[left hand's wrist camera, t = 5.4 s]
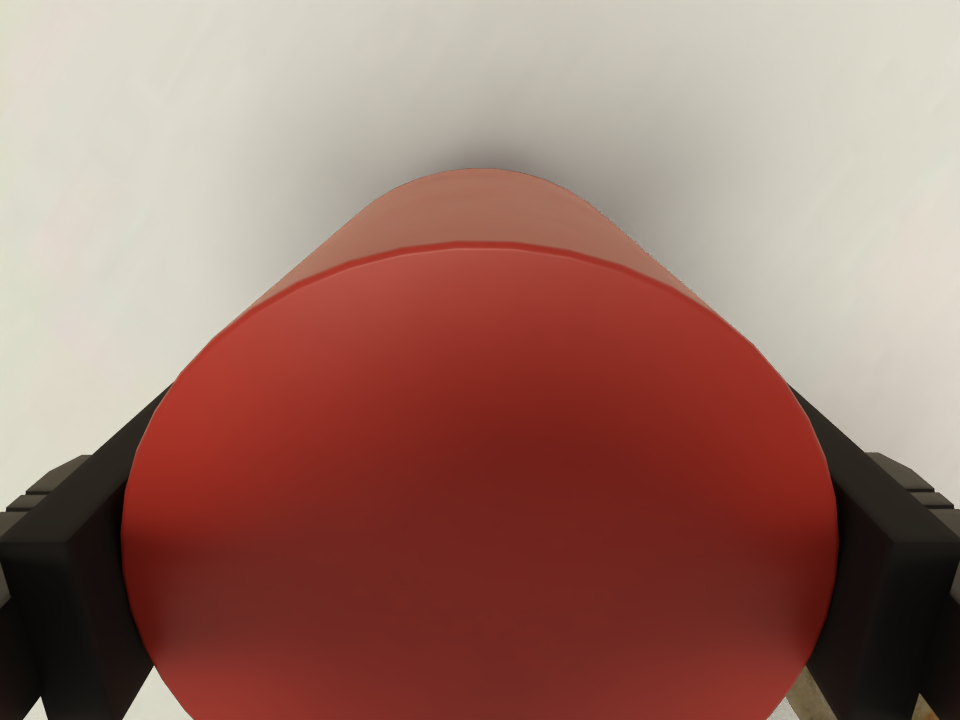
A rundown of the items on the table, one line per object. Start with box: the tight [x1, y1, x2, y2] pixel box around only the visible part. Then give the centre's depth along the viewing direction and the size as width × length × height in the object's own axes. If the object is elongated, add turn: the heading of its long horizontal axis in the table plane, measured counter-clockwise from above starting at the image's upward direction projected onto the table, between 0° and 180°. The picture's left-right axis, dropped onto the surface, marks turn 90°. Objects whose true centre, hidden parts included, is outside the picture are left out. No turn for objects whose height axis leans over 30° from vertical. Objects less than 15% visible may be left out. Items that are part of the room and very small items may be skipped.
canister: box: [120, 168, 839, 720], centre depth 12 cm, size 9×9×9 cm
